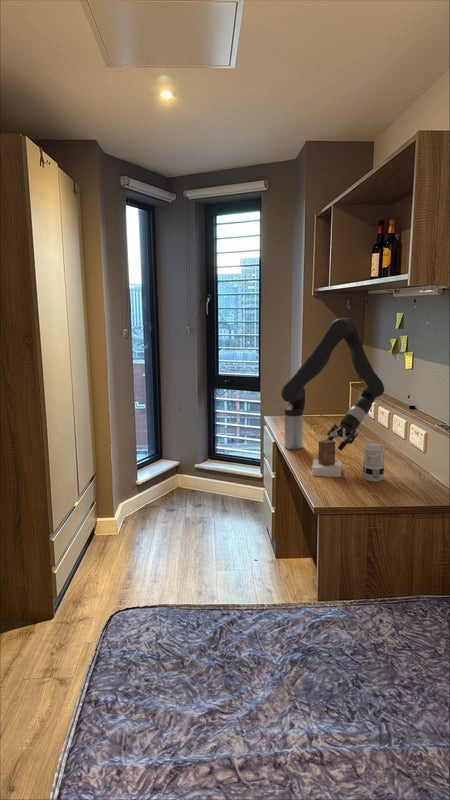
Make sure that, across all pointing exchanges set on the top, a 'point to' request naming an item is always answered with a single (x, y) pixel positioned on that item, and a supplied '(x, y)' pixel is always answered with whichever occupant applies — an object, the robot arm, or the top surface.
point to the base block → (326, 469)
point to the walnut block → (326, 452)
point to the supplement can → (373, 461)
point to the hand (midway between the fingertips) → (332, 447)
